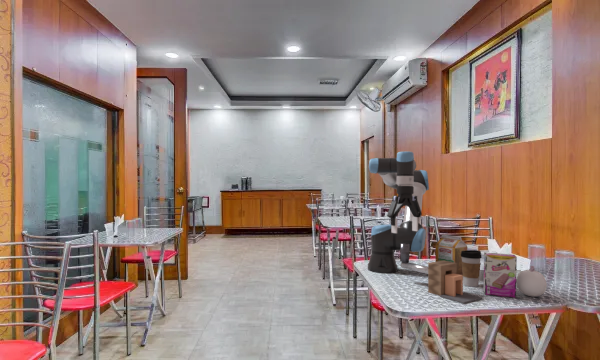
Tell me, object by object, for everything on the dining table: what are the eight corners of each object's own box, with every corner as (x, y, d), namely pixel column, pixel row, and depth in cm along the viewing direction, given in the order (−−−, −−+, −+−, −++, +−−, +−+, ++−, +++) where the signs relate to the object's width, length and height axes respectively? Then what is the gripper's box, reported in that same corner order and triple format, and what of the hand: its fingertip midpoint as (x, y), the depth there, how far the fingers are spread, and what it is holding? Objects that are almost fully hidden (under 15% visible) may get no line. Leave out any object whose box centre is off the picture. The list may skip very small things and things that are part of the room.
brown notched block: (428, 292, 149) (428, 262, 149) (443, 288, 154) (443, 260, 154) (440, 296, 144) (440, 265, 144) (456, 292, 149) (456, 263, 149)
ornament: (547, 301, 138) (547, 269, 138) (515, 296, 144) (515, 266, 144) (546, 294, 147) (546, 265, 147) (516, 290, 152) (516, 261, 152)
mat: (440, 296, 143) (440, 295, 143) (459, 292, 149) (459, 290, 149) (463, 304, 134) (463, 302, 134) (482, 298, 140) (482, 297, 140)
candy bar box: (485, 295, 145) (485, 254, 146) (483, 292, 150) (483, 252, 150) (517, 298, 142) (517, 256, 142) (514, 294, 146) (514, 253, 147)
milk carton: (467, 275, 179) (467, 236, 179) (454, 277, 173) (454, 237, 173) (448, 270, 188) (448, 233, 188) (435, 273, 182) (435, 235, 182)
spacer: (445, 294, 144) (445, 275, 145) (453, 291, 147) (453, 273, 148) (453, 296, 141) (454, 277, 141) (462, 294, 144) (462, 275, 144)
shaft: (398, 267, 166) (398, 243, 167) (404, 266, 169) (404, 242, 169) (437, 277, 149) (437, 250, 149) (443, 276, 151) (443, 249, 151)
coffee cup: (484, 288, 156) (484, 252, 156) (462, 286, 157) (463, 252, 158) (478, 283, 164) (478, 249, 164) (458, 281, 166) (458, 248, 166)
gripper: (391, 185, 157) (391, 234, 157) (429, 185, 170) (429, 231, 170) (379, 185, 163) (378, 232, 163) (417, 185, 176) (416, 229, 176)
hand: (404, 232), depth 166 cm, fingers open, 13 cm apart
